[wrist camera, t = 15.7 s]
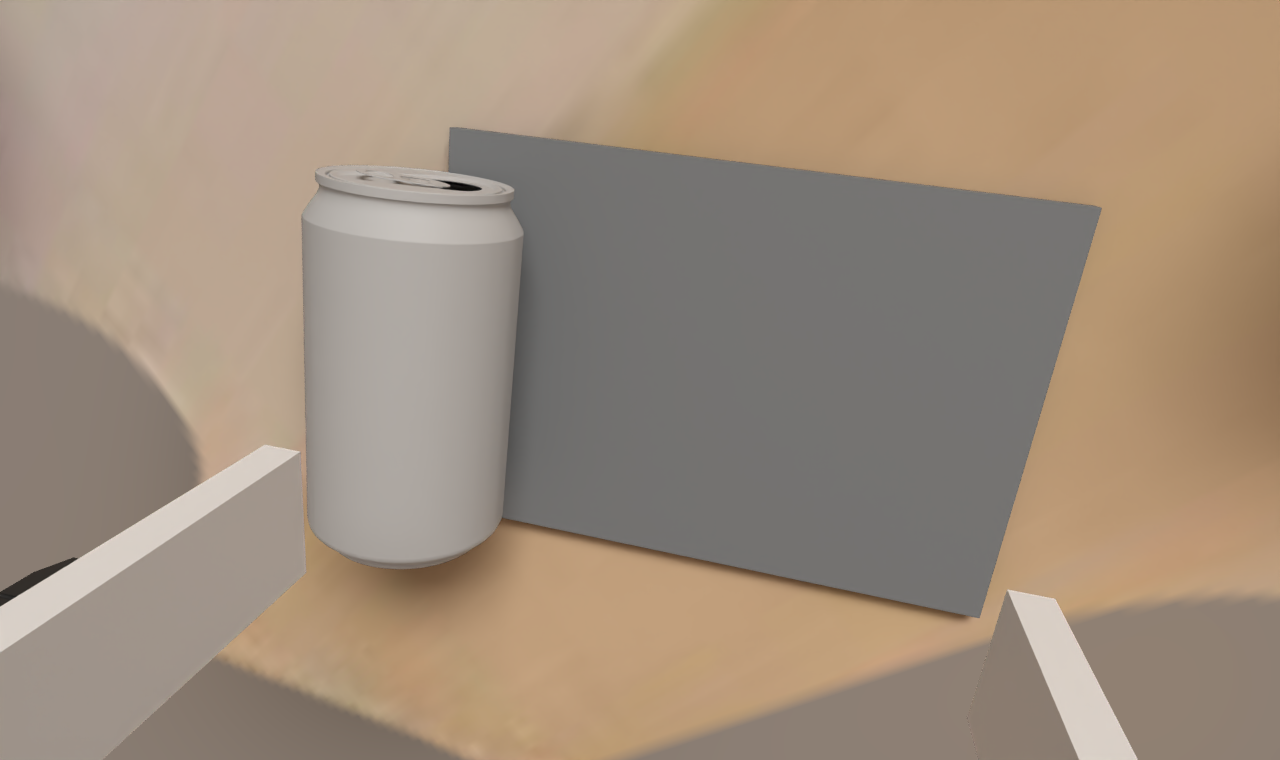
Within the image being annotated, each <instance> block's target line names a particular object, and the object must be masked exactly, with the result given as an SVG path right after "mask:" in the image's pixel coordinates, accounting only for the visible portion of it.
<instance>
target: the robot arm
mask: <svg viewBox="0 0 1280 760" xmlns="http://www.w3.org/2000/svg"><path fill="white" fill-rule="evenodd" d="M305 573H306V556H305V536H304V515H303V494H302V474H301V453H300V452H299V451H294V450H289V449H284V448H279V447H274V446H269V445H264V446H262V447H260V448H259V449H257V450H255V451H254V452H252V453H251V454H249V455H247V456H246V457H244V458H242V459H241V460H239V461H237V462H236V463H234V464H233V465H231V466H229V467H228V468H226V469H224V470H223V471H221V472H220V473H218V474H216V475H215V476H213V477H211V478H210V479H208V480H206V481H205V482H203V483H202V484H200V485H198V486H197V487H195V488H193V489H192V490H190V491H189V492H187V493H185V494H184V495H182V496H180V497H179V498H177V499H175V500H174V501H172V502H170V503H169V504H167V505H166V506H164V507H162V508H161V509H159V510H157V511H156V512H154V513H153V514H151V515H149V516H148V517H146V518H144V519H143V520H141V521H139V522H138V523H136V524H135V525H133V526H131V527H130V528H128V529H126V530H125V531H123V532H122V533H120V534H118V535H117V536H115V537H113V538H112V539H110V540H108V541H107V542H105V543H103V544H102V545H100V546H99V547H97V548H95V549H94V550H92V551H90V552H89V553H87V554H86V555H84V556H83V557H81V558H79V559H77V558H71V559H68V560H66V561H63V562H60V563H58V564H55V565H52V566H50V567H47V568H44V569H41V570H39V571H36V572H33V573H32V574H30V575H28V576H27V577H25V578H23V579H21V580H20V581H18V582H16V583H15V584H13V585H11V586H10V587H8V588H6V589H5V590H3V591H1V592H0V760H102V759H104V758H105V757H106V756H107V755H108V754H109V753H110V752H111V751H112V750H113V749H115V748H116V747H117V746H118V745H119V744H120V743H121V742H122V741H123V740H124V739H125V738H127V737H128V736H129V735H130V734H131V733H132V732H133V731H134V730H135V729H136V728H137V727H138V726H140V725H141V724H142V723H143V722H144V721H145V720H146V719H147V718H148V717H149V716H151V715H152V714H153V713H154V712H155V711H156V710H157V709H158V708H159V707H160V706H161V705H162V704H164V703H165V702H166V701H167V700H168V699H169V698H170V697H171V696H172V695H173V694H174V693H176V692H177V691H178V690H179V689H180V688H181V687H182V686H183V685H184V684H185V683H186V682H188V680H190V679H191V678H192V677H193V676H194V675H195V674H196V673H197V672H198V671H200V670H201V669H202V668H203V667H204V666H205V665H206V664H207V663H208V662H209V661H210V660H212V659H213V658H214V657H215V656H216V655H217V654H218V653H219V652H220V651H221V650H222V649H224V648H225V647H226V646H227V645H228V644H229V643H230V642H231V641H232V640H233V639H234V638H235V637H237V636H238V635H239V634H240V633H241V632H242V631H243V630H244V629H245V628H246V627H247V626H249V625H250V624H251V623H252V622H253V621H254V620H255V619H256V618H257V617H258V616H259V615H261V614H262V613H263V612H264V611H265V610H266V609H267V608H268V607H269V606H270V605H271V604H273V603H274V602H275V601H276V600H277V599H278V598H279V597H280V596H281V595H282V594H283V593H285V592H286V591H287V590H288V589H289V588H290V587H291V586H292V585H293V584H294V583H295V582H296V581H298V580H299V579H300V578H301V577H302V576H303V575H304V574H305ZM967 719H968V723H969V727H970V731H971V735H972V738H973V742H974V746H975V750H976V753H977V757H978V760H1138V759H1137V757H1136V756H1135V754H1134V752H1133V750H1132V748H1131V746H1130V744H1129V742H1128V740H1127V738H1126V736H1125V734H1124V732H1123V730H1122V728H1121V726H1120V724H1119V722H1118V720H1117V718H1116V717H1115V715H1114V713H1113V711H1112V709H1111V707H1110V705H1109V703H1108V701H1107V699H1106V697H1105V695H1104V693H1103V691H1102V689H1101V687H1100V685H1099V683H1098V681H1097V680H1096V678H1095V676H1094V674H1093V672H1092V670H1091V668H1090V666H1089V664H1088V662H1087V660H1086V658H1085V656H1084V654H1083V652H1082V650H1081V648H1080V646H1079V644H1078V642H1077V640H1076V639H1075V637H1074V635H1073V633H1072V631H1071V629H1070V627H1069V625H1068V623H1067V621H1066V619H1065V617H1064V615H1063V613H1062V611H1061V609H1060V607H1059V605H1058V603H1057V601H1056V600H1055V599H1053V598H1048V597H1043V596H1038V595H1033V594H1028V593H1023V592H1018V591H1012V590H1007V592H1006V595H1005V598H1004V602H1003V605H1002V608H1001V611H1000V614H999V618H998V621H997V624H996V627H995V630H994V634H993V637H992V640H991V643H990V647H989V650H988V653H987V656H986V659H985V662H984V666H983V669H982V672H981V675H980V679H979V682H978V685H977V688H976V691H975V695H974V698H973V701H972V704H971V708H970V710H969V714H968V717H967Z"/></svg>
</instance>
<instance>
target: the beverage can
mask: <svg viewBox="0 0 1280 760" xmlns="http://www.w3.org/2000/svg"><path fill="white" fill-rule="evenodd" d="M315 180H316V182H317V183H318V184H319V189H318V191H317V193H316V194H315V196H314V197H313V198H312V199H311V201H310V202H309V203H308V205H307V206H306V208H305V210H304V211H303V213H302V261H303V312H304V364H305V415H306V466H307V516H308V521H309V525H310V528H311V530H312V531H313V533H314V534H315V536H316V537H317V538H318V539H319V540H320V541H322V542H323V543H324V544H326V545H327V546H328V547H330V548H332V549H333V550H335V551H337V552H339V553H340V554H341V555H343V556H345V557H346V558H348V559H350V560H352V561H355V562H357V563H360V564H364V565H368V566H372V567H378V568H386V569H414V568H423V567H429V566H434V565H438V564H441V563H445V562H448V561H450V560H453V559H455V558H458V557H460V556H461V555H463V554H465V553H467V552H468V551H469V550H471V549H472V548H474V547H476V546H478V545H479V544H481V543H482V542H484V541H485V540H486V539H487V538H488V537H490V536H491V535H492V534H493V533H494V531H495V530H496V528H497V526H498V525H499V523H500V521H501V519H502V514H503V502H504V489H505V476H506V462H507V449H508V436H509V422H510V409H511V396H512V383H513V369H514V356H515V343H516V329H517V316H518V303H519V289H520V276H521V263H522V249H523V236H524V232H523V229H522V227H521V225H520V223H519V221H518V219H517V218H516V216H515V214H514V212H513V211H512V208H511V205H510V202H511V201H512V200H513V199H514V188H512V187H511V186H509V185H506V184H503V183H500V182H497V181H493V180H489V179H484V178H479V177H474V176H468V175H462V174H456V173H449V172H442V171H433V170H425V169H415V168H403V167H389V166H368V165H341V166H328V167H322V168H318V169H316V171H315Z"/></svg>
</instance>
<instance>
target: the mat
mask: <svg viewBox="0 0 1280 760" xmlns="http://www.w3.org/2000/svg"><path fill="white" fill-rule="evenodd" d="M449 173H456V174H462V175H468V176H474V177H479V178H484V179H489V180H493V181H497V182H500V183H503V184H506V185H509V186H511V187H512V188H514V199H513V200H512V201H511V202H510V205H511V208H512V211H513V212H514V214H515V216H516V218H517V219H518V221H519V223H520V225H521V227H522V229H523V232H524V236H523V249H522V263H521V276H520V289H519V303H518V316H517V329H516V343H515V356H514V369H513V383H512V396H511V409H510V422H509V436H508V449H507V462H506V476H505V489H504V502H503V514H502V518H506V519H511V520H515V521H520V522H525V523H530V524H534V525H539V526H544V527H549V528H553V529H558V530H563V531H568V532H572V533H577V534H582V535H587V536H591V537H596V538H601V539H606V540H610V541H615V542H620V543H625V544H629V545H634V546H639V547H644V548H648V549H653V550H658V551H663V552H667V553H672V554H677V555H682V556H686V557H691V558H696V559H701V560H705V561H710V562H715V563H720V564H724V565H729V566H734V567H739V568H743V569H748V570H753V571H758V572H762V573H767V574H772V575H777V576H781V577H786V578H791V579H796V580H800V581H805V582H810V583H815V584H819V585H824V586H829V587H834V588H838V589H843V590H848V591H853V592H857V593H862V594H867V595H872V596H876V597H881V598H886V599H891V600H895V601H900V602H905V603H910V604H914V605H919V606H924V607H929V608H933V609H938V610H943V611H948V612H952V613H957V614H962V615H967V616H971V617H976V618H980V615H981V611H982V608H983V604H984V601H985V598H986V594H987V591H988V588H989V584H990V581H991V578H992V574H993V571H994V568H995V564H996V561H997V558H998V554H999V551H1000V548H1001V544H1002V541H1003V537H1004V534H1005V531H1006V527H1007V524H1008V521H1009V517H1010V514H1011V511H1012V507H1013V504H1014V501H1015V497H1016V494H1017V491H1018V487H1019V484H1020V481H1021V477H1022V474H1023V470H1024V467H1025V464H1026V460H1027V457H1028V454H1029V450H1030V447H1031V444H1032V440H1033V437H1034V434H1035V430H1036V427H1037V424H1038V420H1039V417H1040V414H1041V410H1042V407H1043V403H1044V400H1045V397H1046V393H1047V390H1048V387H1049V383H1050V380H1051V377H1052V373H1053V370H1054V367H1055V363H1056V360H1057V357H1058V353H1059V350H1060V347H1061V343H1062V340H1063V336H1064V333H1065V330H1066V326H1067V323H1068V320H1069V316H1070V313H1071V310H1072V306H1073V303H1074V300H1075V296H1076V293H1077V290H1078V286H1079V283H1080V280H1081V276H1082V273H1083V269H1084V266H1085V263H1086V259H1087V256H1088V253H1089V249H1090V246H1091V243H1092V239H1093V236H1094V233H1095V229H1096V226H1097V223H1098V219H1099V216H1100V212H1101V209H1102V208H1100V207H1097V206H1092V205H1084V204H1076V203H1068V202H1059V201H1051V200H1043V199H1035V198H1027V197H1019V196H1011V195H1003V194H995V193H986V192H978V191H970V190H962V189H954V188H946V187H938V186H930V185H921V184H913V183H905V182H897V181H889V180H881V179H873V178H865V177H856V176H848V175H840V174H832V173H824V172H816V171H808V170H800V169H791V168H783V167H775V166H767V165H759V164H751V163H743V162H735V161H726V160H718V159H710V158H702V157H694V156H686V155H678V154H670V153H662V152H653V151H645V150H637V149H629V148H621V147H613V146H605V145H597V144H588V143H580V142H572V141H564V140H556V139H548V138H540V137H532V136H523V135H515V134H507V133H499V132H491V131H483V130H475V129H467V128H458V127H450V136H449Z"/></svg>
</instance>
